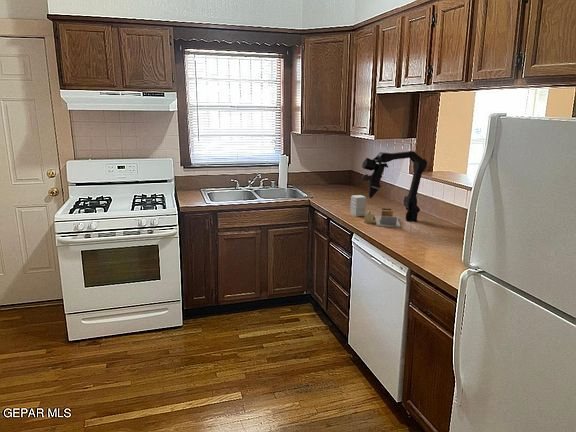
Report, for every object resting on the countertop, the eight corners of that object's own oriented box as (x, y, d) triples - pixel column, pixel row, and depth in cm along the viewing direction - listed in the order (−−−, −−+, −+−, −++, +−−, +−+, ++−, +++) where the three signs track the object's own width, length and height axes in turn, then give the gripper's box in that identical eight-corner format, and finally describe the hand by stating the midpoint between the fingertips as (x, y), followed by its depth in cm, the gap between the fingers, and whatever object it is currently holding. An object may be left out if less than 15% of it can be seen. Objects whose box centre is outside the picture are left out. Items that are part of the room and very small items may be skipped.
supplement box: (359, 213, 296) (360, 194, 293) (365, 215, 289) (366, 197, 286) (349, 213, 293) (351, 195, 290) (355, 216, 287) (356, 197, 283)
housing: (372, 221, 275) (373, 210, 273) (372, 223, 270) (373, 212, 269) (364, 221, 276) (364, 210, 274) (364, 223, 271) (365, 212, 269)
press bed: (396, 218, 285) (397, 209, 283) (400, 227, 263) (401, 217, 262) (374, 217, 286) (375, 208, 285) (376, 226, 265) (377, 216, 263)
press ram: (391, 215, 284) (392, 208, 283) (392, 218, 277) (393, 211, 276) (380, 215, 285) (380, 207, 284) (381, 218, 278) (381, 210, 276)
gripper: (364, 168, 278) (356, 192, 281) (365, 169, 260) (357, 194, 263) (381, 173, 277) (373, 197, 280) (383, 175, 259) (375, 200, 262)
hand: (369, 197), depth 271 cm, fingers open, 9 cm apart
